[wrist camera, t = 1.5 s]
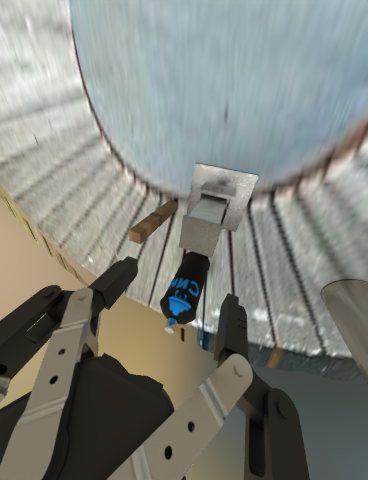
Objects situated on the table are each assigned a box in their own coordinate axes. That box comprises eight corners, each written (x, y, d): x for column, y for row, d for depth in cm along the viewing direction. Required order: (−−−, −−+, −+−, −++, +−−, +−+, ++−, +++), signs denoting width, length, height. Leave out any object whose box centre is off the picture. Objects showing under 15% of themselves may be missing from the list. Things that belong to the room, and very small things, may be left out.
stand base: (258, 175, 26) (262, 182, 21) (235, 229, 33) (234, 246, 28) (196, 162, 29) (185, 166, 23) (187, 216, 35) (177, 229, 30)
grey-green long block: (231, 192, 28) (222, 227, 16) (224, 213, 31) (211, 257, 18) (208, 186, 29) (183, 216, 17) (203, 208, 32) (178, 246, 19)
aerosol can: (208, 275, 44) (188, 348, 28) (183, 268, 46) (151, 332, 30) (211, 255, 39) (191, 328, 23) (184, 248, 41) (147, 311, 26)
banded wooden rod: (177, 201, 34) (140, 233, 22) (177, 209, 35) (140, 244, 23) (170, 199, 35) (128, 229, 22) (169, 207, 36) (129, 240, 23)
